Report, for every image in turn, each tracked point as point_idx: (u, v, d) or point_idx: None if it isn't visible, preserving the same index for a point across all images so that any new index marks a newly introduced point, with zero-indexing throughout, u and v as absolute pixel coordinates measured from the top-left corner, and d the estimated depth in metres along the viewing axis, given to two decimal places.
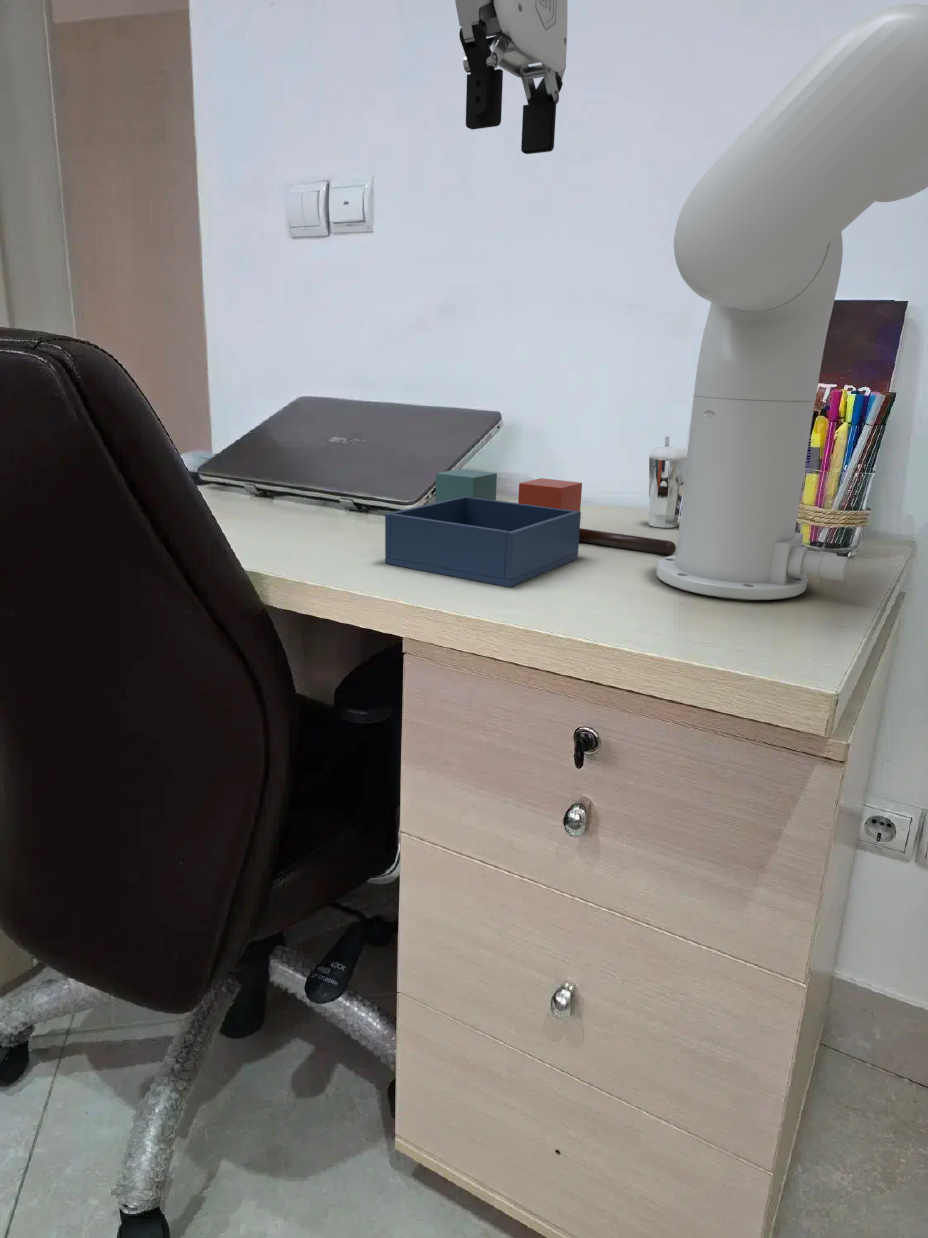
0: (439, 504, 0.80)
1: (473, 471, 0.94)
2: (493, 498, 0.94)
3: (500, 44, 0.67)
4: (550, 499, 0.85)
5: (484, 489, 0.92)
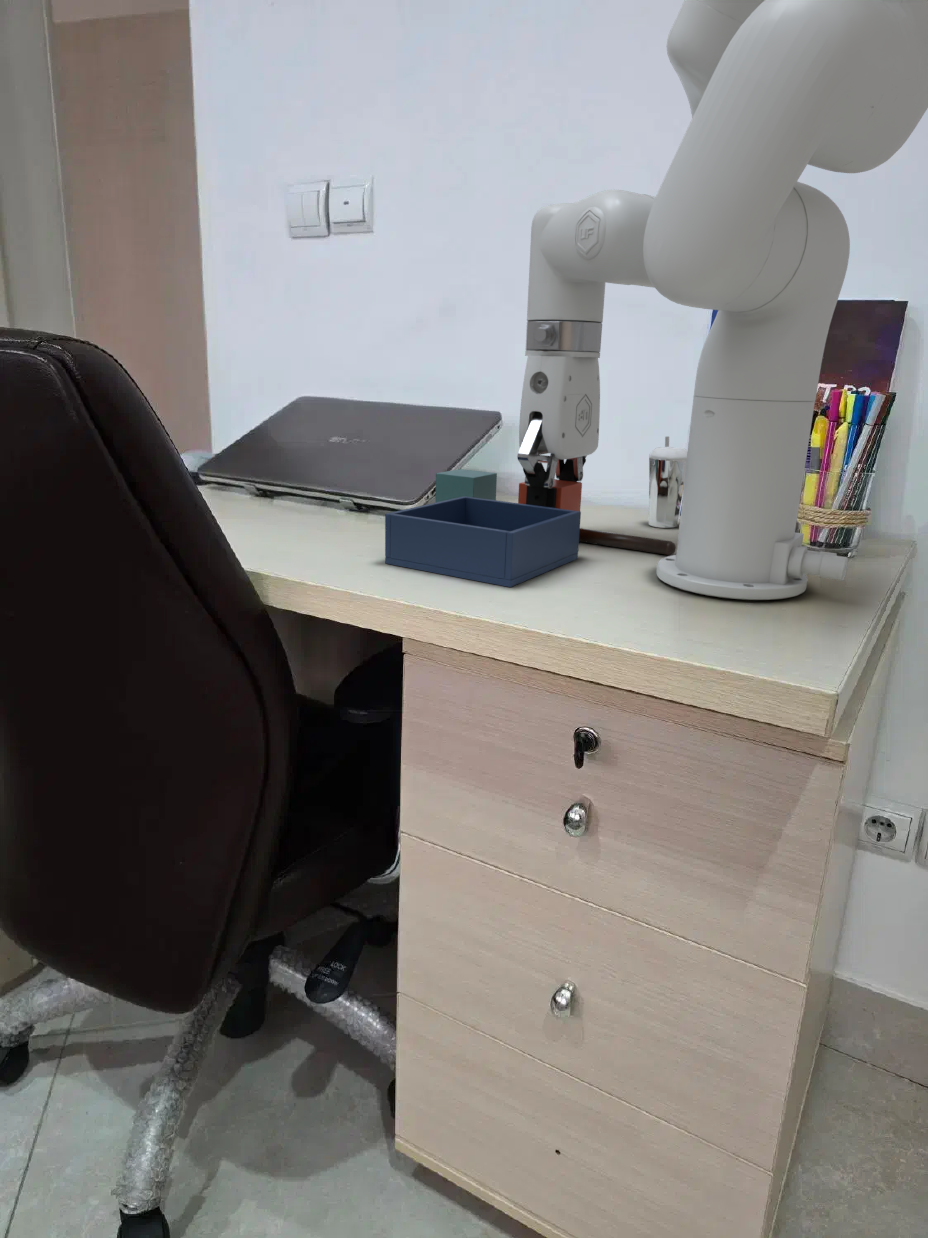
0: (439, 504, 0.80)
1: (473, 471, 0.94)
2: (493, 498, 0.94)
3: (552, 468, 0.83)
4: None
5: (484, 489, 0.92)
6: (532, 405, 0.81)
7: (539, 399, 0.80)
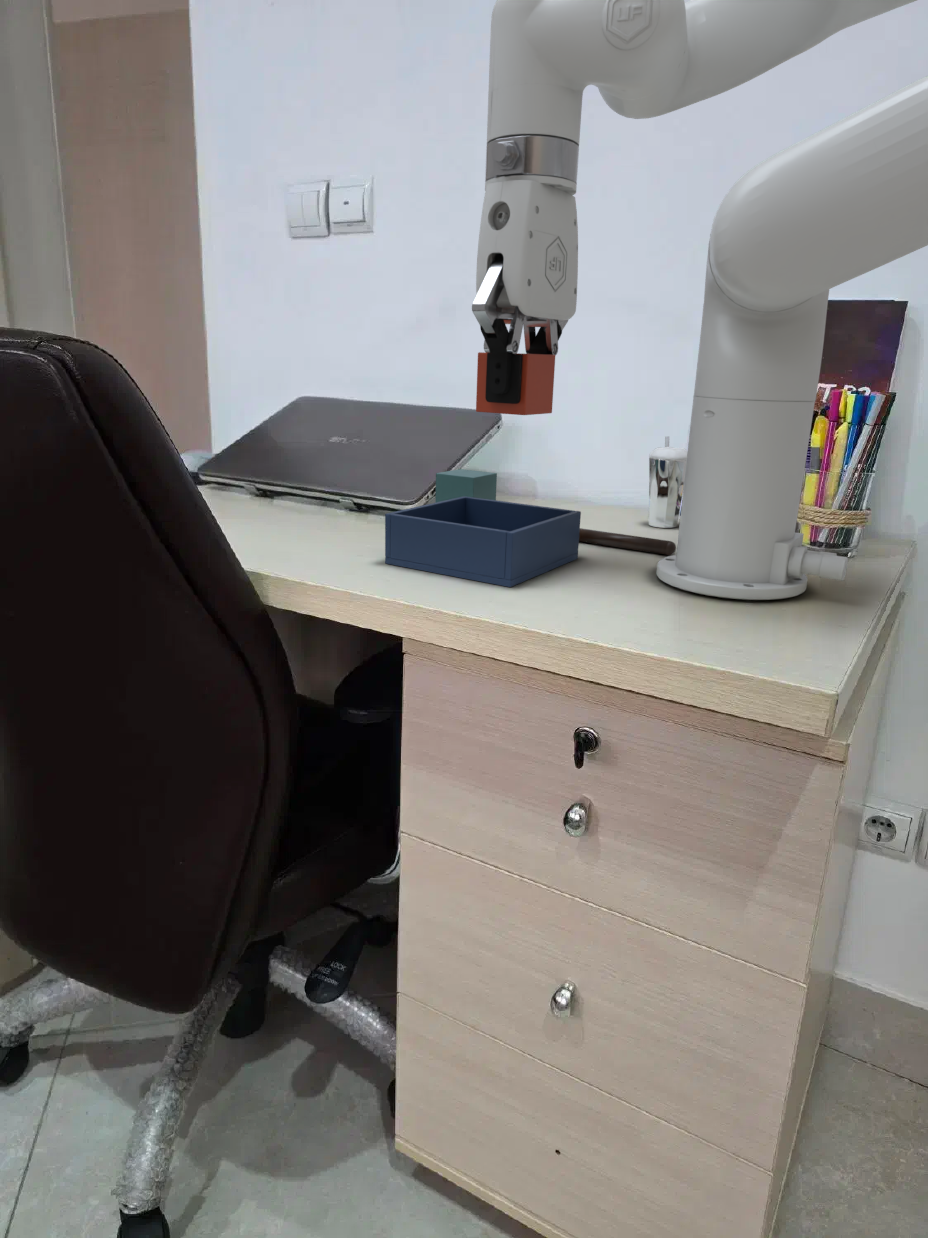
0: (439, 504, 0.80)
1: (473, 471, 0.94)
2: (493, 498, 0.94)
3: (517, 328, 0.68)
4: None
5: (484, 489, 0.92)
6: (491, 245, 0.66)
7: (499, 236, 0.65)
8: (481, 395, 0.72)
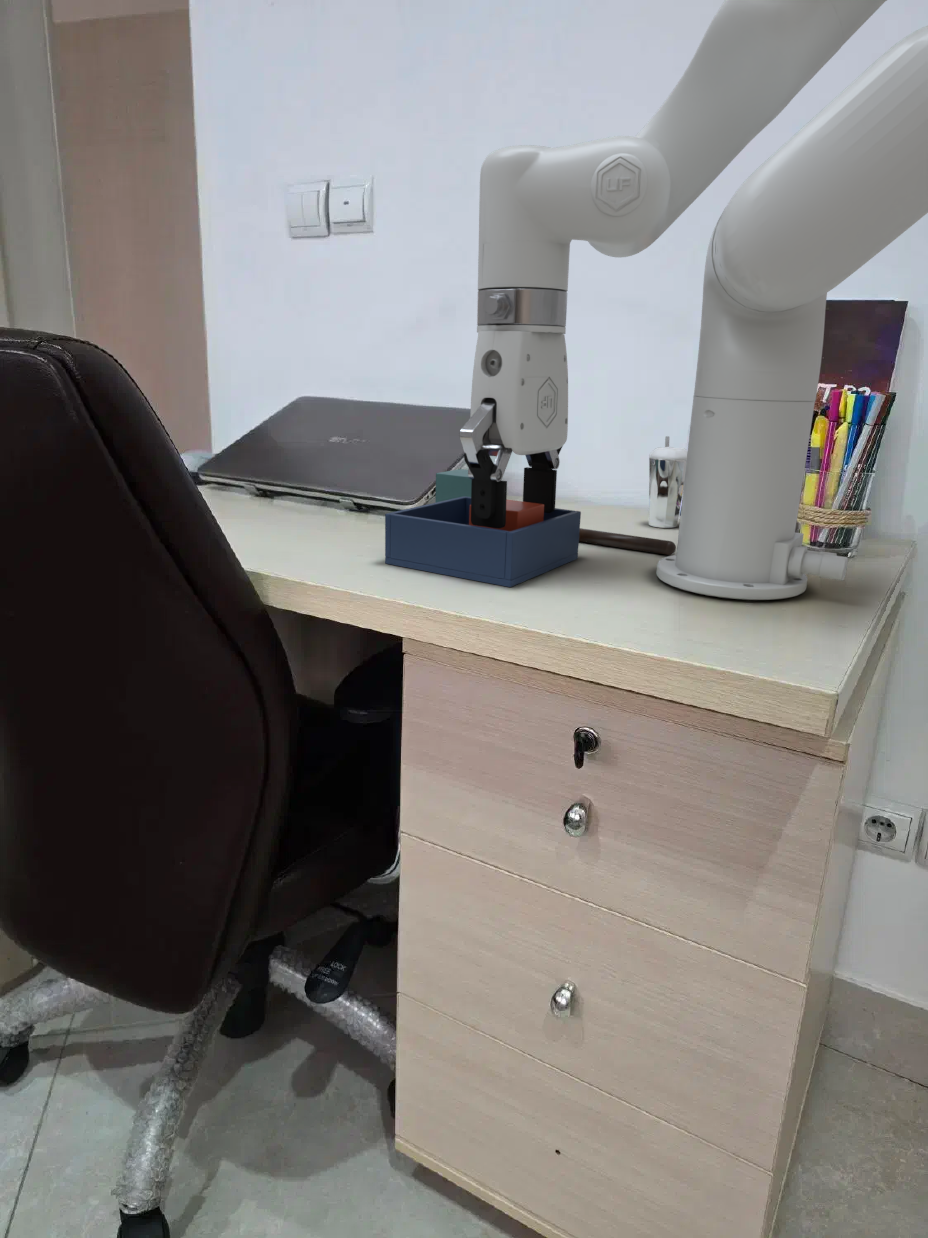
0: (439, 504, 0.80)
1: None
2: None
3: (503, 458, 0.69)
4: None
5: None
6: (484, 390, 0.68)
7: (492, 383, 0.67)
8: None
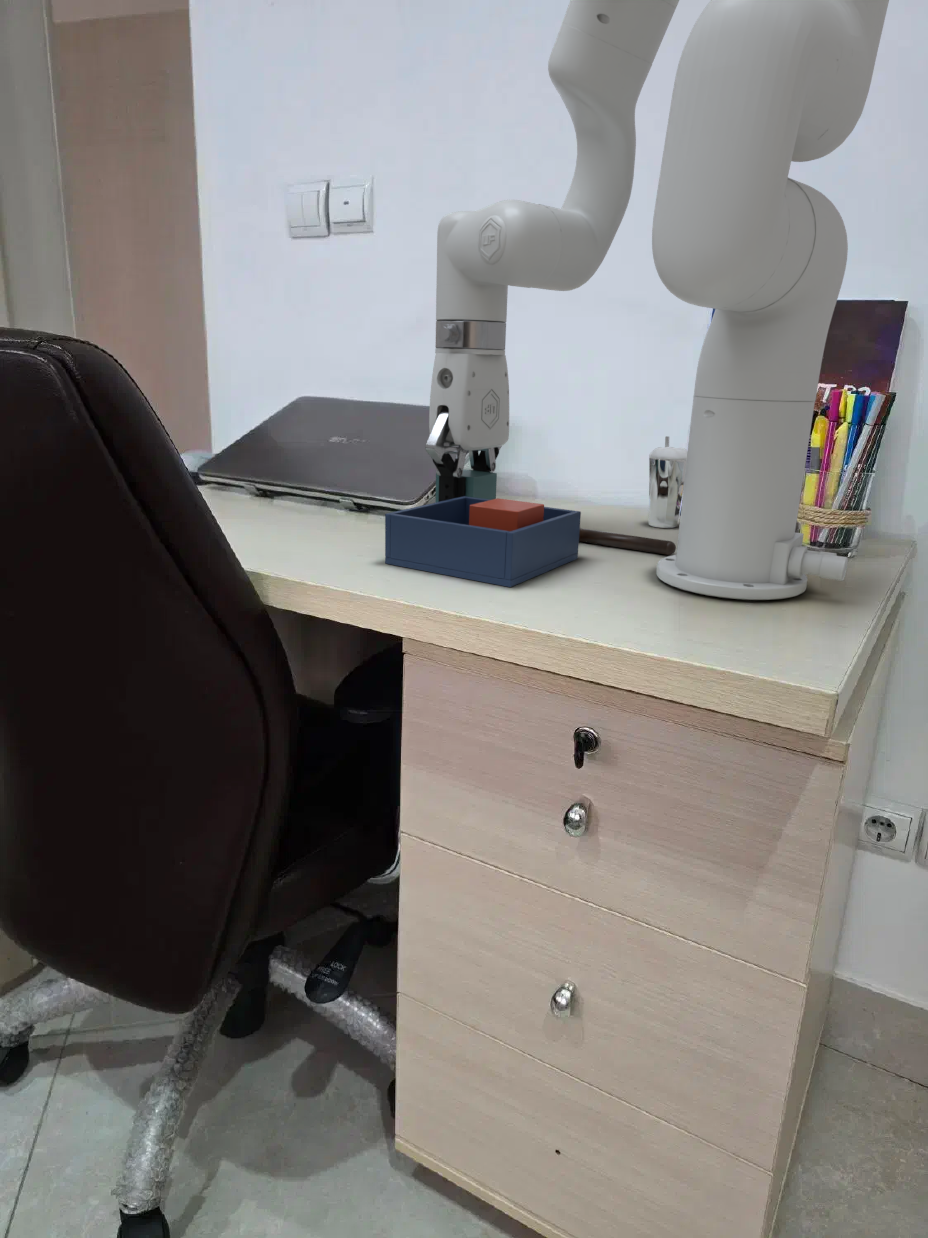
0: (439, 504, 0.80)
1: (473, 471, 0.94)
2: (493, 498, 0.94)
3: (461, 459, 0.89)
4: (505, 524, 0.73)
5: (484, 489, 0.92)
6: (440, 399, 0.87)
7: (445, 394, 0.86)
8: None
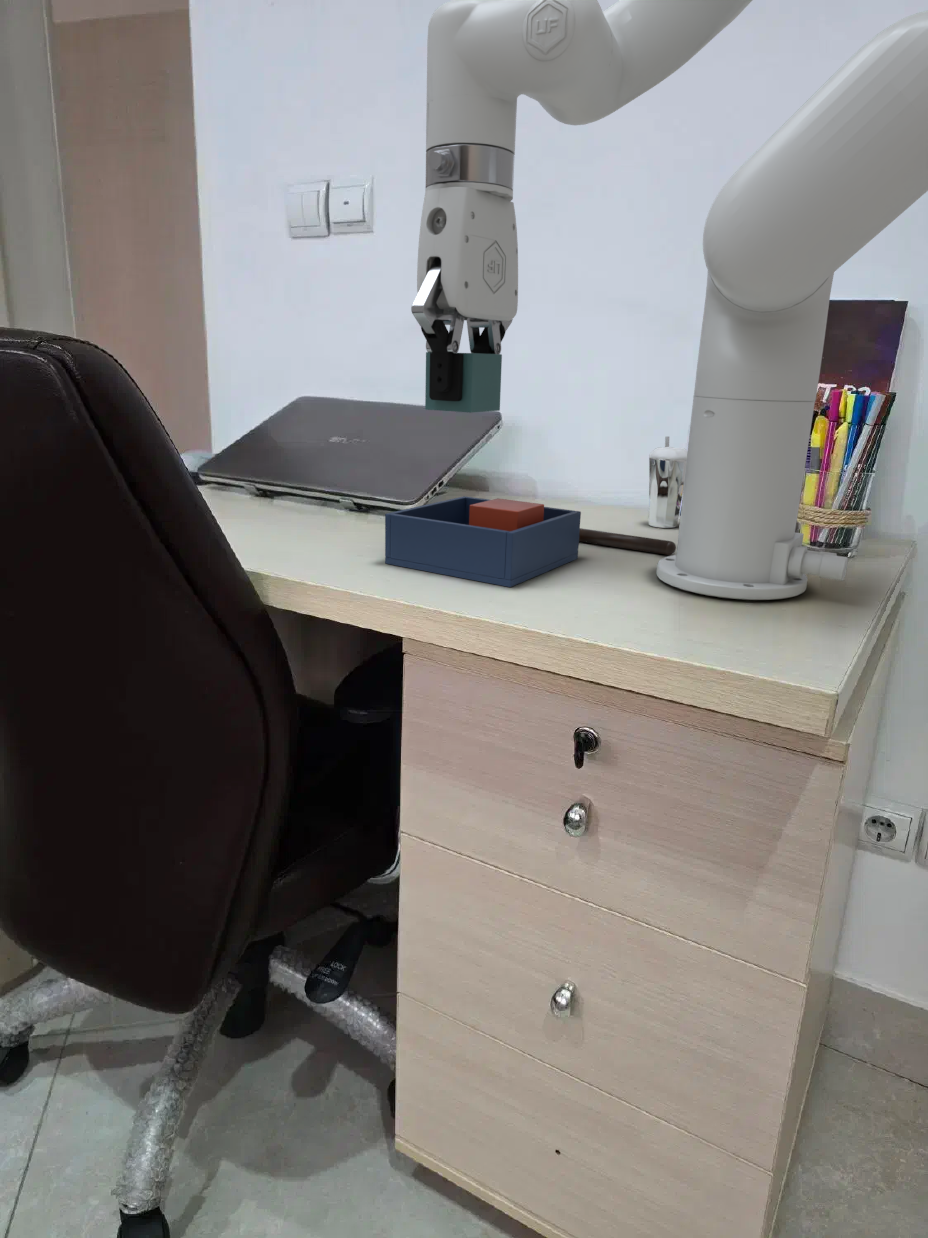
0: (439, 504, 0.80)
1: None
2: (497, 386, 0.76)
3: (457, 328, 0.71)
4: (505, 524, 0.73)
5: (486, 371, 0.74)
6: (430, 249, 0.68)
7: (437, 241, 0.68)
8: None
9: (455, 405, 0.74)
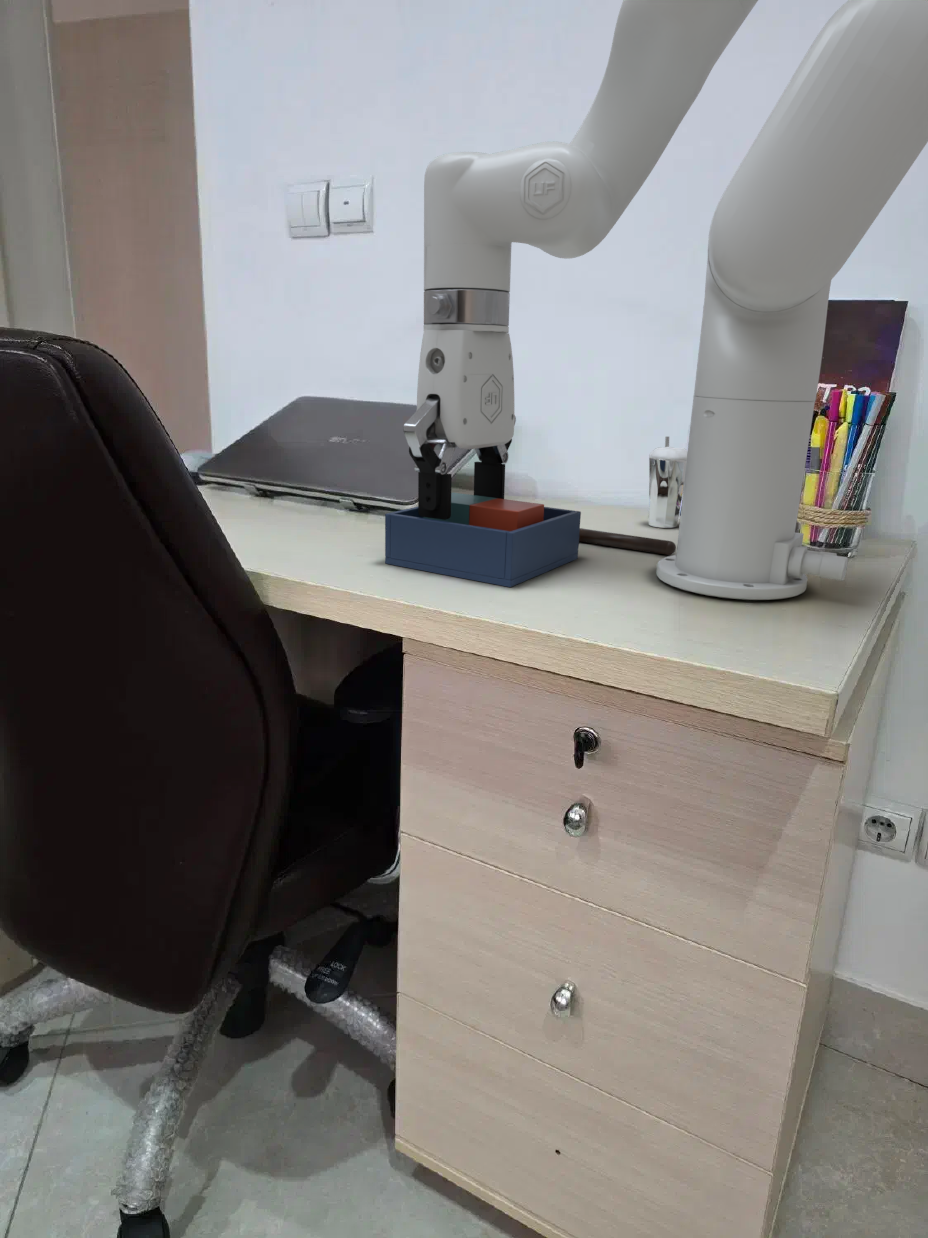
0: None
1: (468, 495, 0.79)
2: None
3: (448, 452, 0.71)
4: (505, 524, 0.73)
5: None
6: (429, 387, 0.70)
7: (436, 380, 0.70)
8: None
9: None
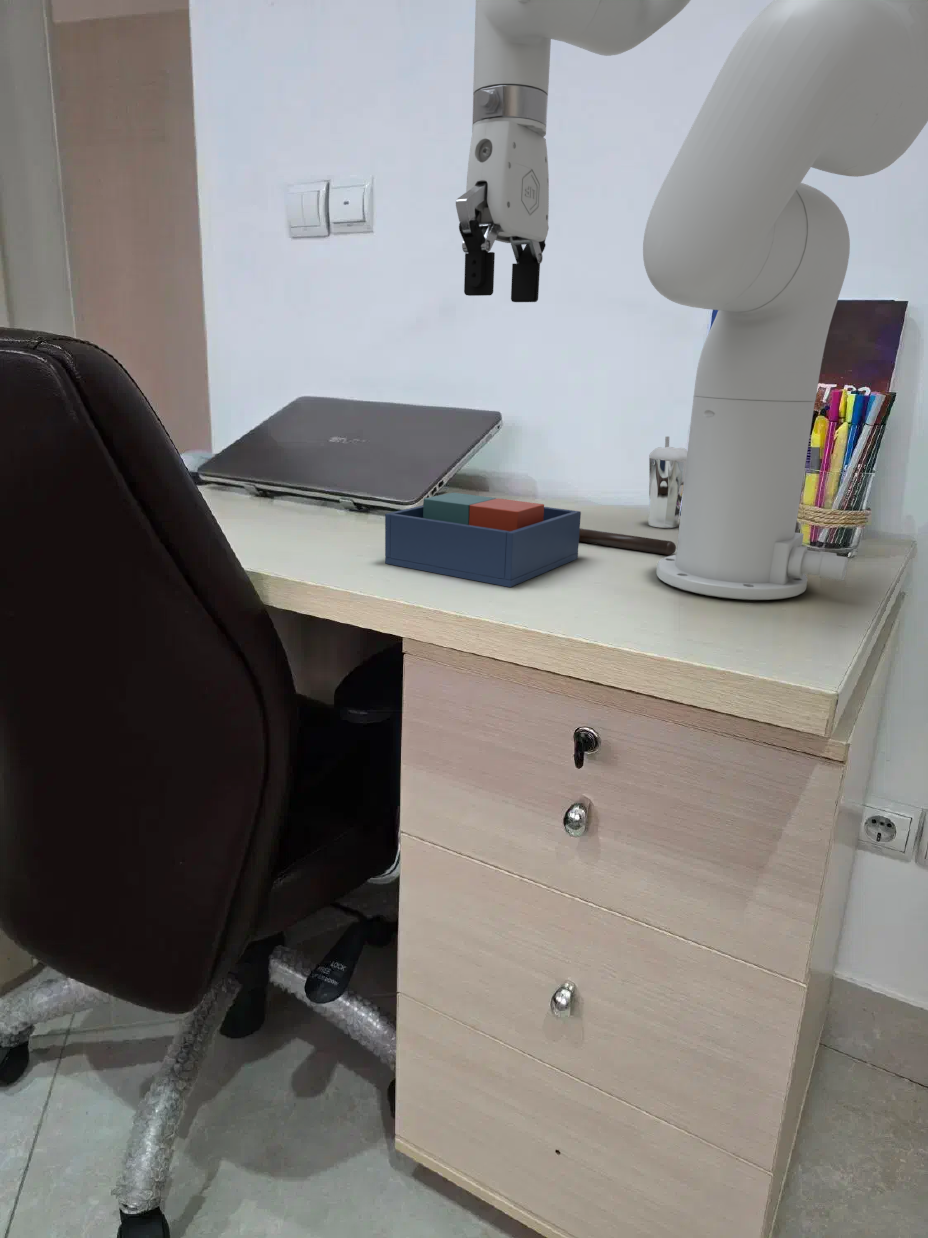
0: None
1: (468, 495, 0.79)
2: None
3: (492, 232, 0.82)
4: (505, 524, 0.73)
5: None
6: (478, 174, 0.81)
7: (484, 167, 0.81)
8: None
9: None
